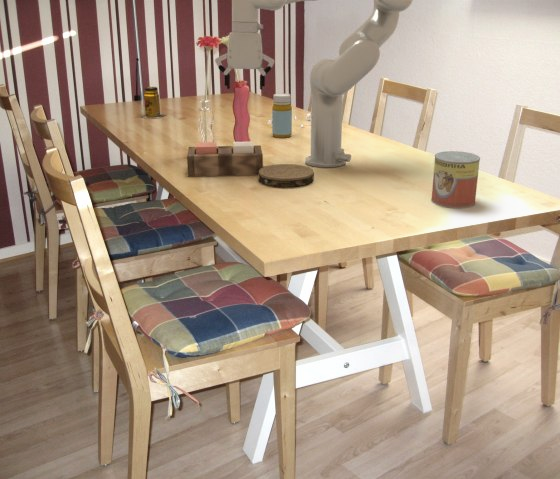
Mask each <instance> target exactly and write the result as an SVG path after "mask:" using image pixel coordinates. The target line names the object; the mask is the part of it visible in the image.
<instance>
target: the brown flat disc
mask: <svg viewBox="0 0 560 479" xmlns="http://www.w3.org/2000/svg"><path fill="white" fill-rule="evenodd" d="M314 174H315V170H314V168H312V167H309V166H306V165H303V164H302V165H301V164H297V163H296V164H292V163H278V164H271V165H270V164H269V165H265V166H263V168H261V169H260V170H259V175H258V182H259V183H260V184H261V185H262V186H263V185H264V186H266V187H271V188H276V189H277V188H278V189H280V188H281V189H295V188H296V189H297V188H304V187H306V186H309V185H311V184H313V182H315V175H314Z"/></svg>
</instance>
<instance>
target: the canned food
mask: <svg viewBox="0 0 560 479" xmlns="http://www.w3.org/2000/svg"><path fill="white" fill-rule="evenodd" d="M480 161H481V157H480V156H479V155H478V154H475V153H472V152H466V151H457V150H456V151H451V150H450V151H440V152H437V153H435V154H434V164H433V165H434V166H433V167H434V168H433V179H432V189H431V199H430V201H431V202H432V203H433V204H435V205H437V206H440V207H442V208H443V207H444V208H450V209H466V208H470V207H474V206H475V205H476V198H477V197H476V196H477V190H478V189H477V187H478V177H479V169H480V166H479V165H480Z"/></svg>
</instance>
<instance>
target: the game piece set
mask: <svg viewBox="0 0 560 479" xmlns="http://www.w3.org/2000/svg"><path fill="white" fill-rule="evenodd" d="M292 115H293V116H294V120H297V119H298V117H297V116H296V115H295V112H292ZM270 117H272V114H270ZM305 120H306V121H307V122H309V121H310V122H311V112H310V113H307V114H306V117H305ZM266 124H267V125H269V124H270V125H272V118H270V119H269V120H268V121H267V123H266ZM299 127H300V129H304V128H305V125H303V124H301V125H300V126H299Z"/></svg>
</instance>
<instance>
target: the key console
mask: <svg viewBox="0 0 560 479" xmlns="http://www.w3.org/2000/svg"><path fill="white" fill-rule="evenodd" d="M216 146H217V145H216ZM186 162H187V165H186V166H187V177H224V176H225V177H227V176H229V177H230V176H231V177H233V176H259V170H260V169H261V168H263V167H264V155H263V150H262V146H261V145H254V153H235V154H233V145H223V146H220V145H218V146H217V154H196V146H188V150H187V155H186Z"/></svg>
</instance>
